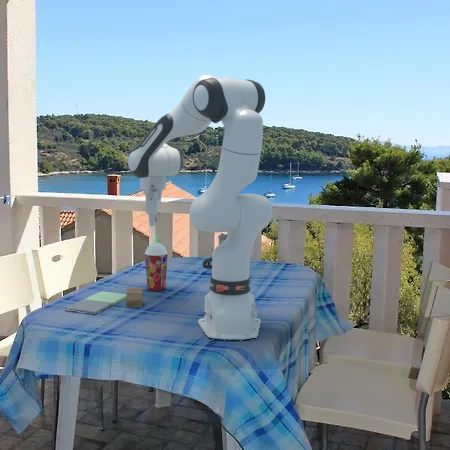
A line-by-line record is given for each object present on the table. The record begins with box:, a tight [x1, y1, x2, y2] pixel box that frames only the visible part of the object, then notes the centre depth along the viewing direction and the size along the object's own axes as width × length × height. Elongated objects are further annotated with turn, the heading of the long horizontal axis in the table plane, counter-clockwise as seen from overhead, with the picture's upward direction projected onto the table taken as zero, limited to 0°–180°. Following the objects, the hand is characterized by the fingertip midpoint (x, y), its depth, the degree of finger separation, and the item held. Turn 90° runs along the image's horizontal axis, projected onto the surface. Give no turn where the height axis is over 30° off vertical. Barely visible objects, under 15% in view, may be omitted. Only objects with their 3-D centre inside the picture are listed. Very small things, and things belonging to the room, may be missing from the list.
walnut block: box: [125, 287, 144, 308], centre depth 190 cm, size 5×5×5 cm
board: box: [64, 291, 126, 315], centre depth 190 cm, size 22×11×1 cm, turn 161°
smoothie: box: [144, 234, 169, 292], centre depth 209 cm, size 8×8×20 cm
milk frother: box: [202, 233, 229, 269], centre depth 245 cm, size 14×16×15 cm
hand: (153, 224), depth 201 cm, fingers open, 8 cm apart
